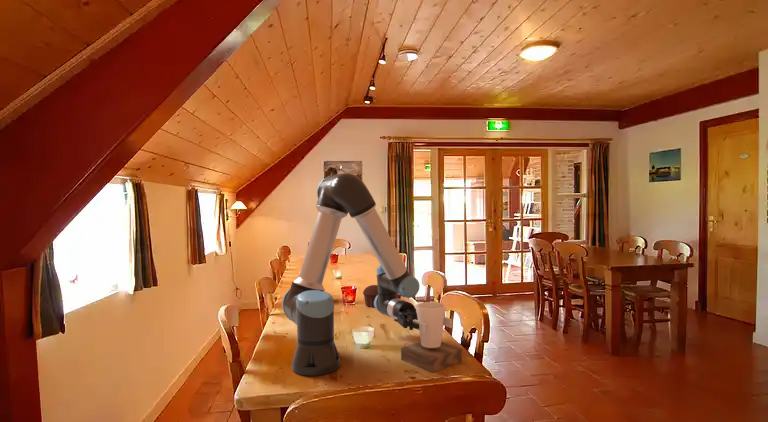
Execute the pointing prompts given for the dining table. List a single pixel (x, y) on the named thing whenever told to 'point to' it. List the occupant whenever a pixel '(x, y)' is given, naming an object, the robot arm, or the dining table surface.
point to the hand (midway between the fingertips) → (439, 326)
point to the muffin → (370, 295)
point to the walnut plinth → (431, 356)
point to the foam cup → (431, 322)
